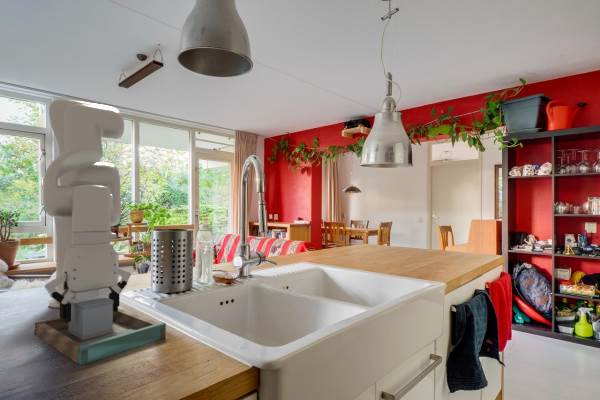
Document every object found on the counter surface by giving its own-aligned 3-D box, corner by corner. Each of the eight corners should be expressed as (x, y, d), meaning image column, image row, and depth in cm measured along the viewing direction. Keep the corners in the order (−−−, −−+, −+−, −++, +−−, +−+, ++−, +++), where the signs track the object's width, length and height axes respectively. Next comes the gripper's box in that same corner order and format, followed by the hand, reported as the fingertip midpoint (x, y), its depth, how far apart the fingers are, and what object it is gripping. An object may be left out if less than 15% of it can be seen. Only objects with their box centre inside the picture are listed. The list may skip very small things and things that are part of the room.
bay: (34, 334, 76) (34, 320, 76) (112, 315, 89) (112, 303, 89) (80, 365, 60) (80, 348, 60) (165, 337, 73) (165, 323, 74)
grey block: (67, 332, 77) (68, 300, 77) (97, 324, 82) (97, 294, 82) (82, 340, 72) (83, 306, 72) (113, 331, 77) (113, 300, 77)
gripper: (122, 236, 87) (122, 304, 86) (40, 241, 73) (38, 322, 72) (137, 237, 82) (137, 309, 81) (52, 243, 68) (51, 329, 68)
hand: (91, 315), depth 77 cm, fingers open, 9 cm apart
